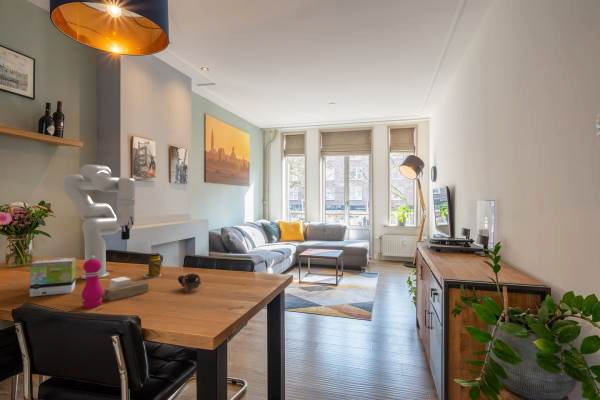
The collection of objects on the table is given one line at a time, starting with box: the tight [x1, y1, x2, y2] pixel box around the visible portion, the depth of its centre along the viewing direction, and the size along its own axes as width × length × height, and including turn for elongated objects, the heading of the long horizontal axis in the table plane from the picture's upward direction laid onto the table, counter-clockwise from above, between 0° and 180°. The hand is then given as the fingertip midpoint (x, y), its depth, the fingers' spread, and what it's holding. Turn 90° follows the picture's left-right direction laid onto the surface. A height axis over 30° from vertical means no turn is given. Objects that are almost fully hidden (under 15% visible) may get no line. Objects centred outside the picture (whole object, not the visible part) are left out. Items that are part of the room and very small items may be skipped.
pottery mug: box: [177, 273, 202, 292], centre depth 148 cm, size 12×10×8 cm
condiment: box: [143, 252, 163, 278], centre depth 173 cm, size 7×8×12 cm
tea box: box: [29, 257, 77, 298], centre depth 142 cm, size 15×10×15 cm
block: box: [109, 276, 132, 288], centre depth 143 cm, size 7×6×6 cm
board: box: [103, 280, 149, 302], centre depth 139 cm, size 6×16×4 cm, turn 144°
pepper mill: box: [81, 255, 104, 309], centre depth 125 cm, size 7×7×20 cm
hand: (125, 239), depth 158 cm, fingers closed
